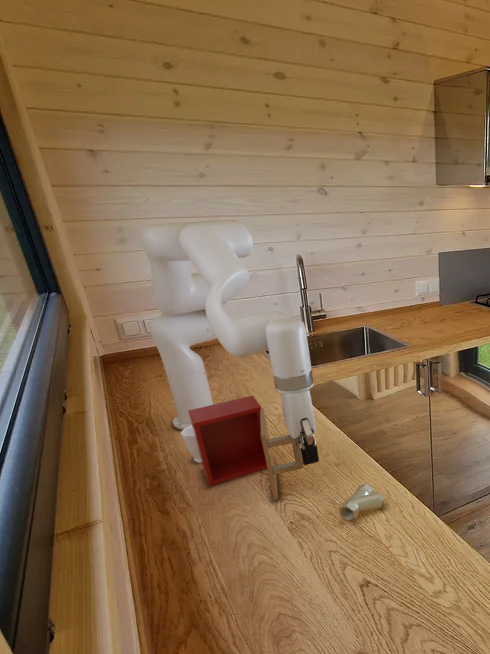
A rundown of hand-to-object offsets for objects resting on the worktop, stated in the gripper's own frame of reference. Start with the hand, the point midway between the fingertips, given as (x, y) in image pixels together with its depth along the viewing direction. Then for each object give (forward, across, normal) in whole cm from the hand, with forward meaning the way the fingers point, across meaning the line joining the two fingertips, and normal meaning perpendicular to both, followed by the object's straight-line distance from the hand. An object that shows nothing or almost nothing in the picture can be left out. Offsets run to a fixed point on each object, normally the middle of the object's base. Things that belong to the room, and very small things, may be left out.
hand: (305, 452), depth 106 cm
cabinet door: (+9, -5, -4) cm, 11 cm away
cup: (+9, -28, -20) cm, 36 cm away
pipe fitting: (+9, +15, +8) cm, 19 cm away
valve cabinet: (+9, -17, -13) cm, 23 cm away
